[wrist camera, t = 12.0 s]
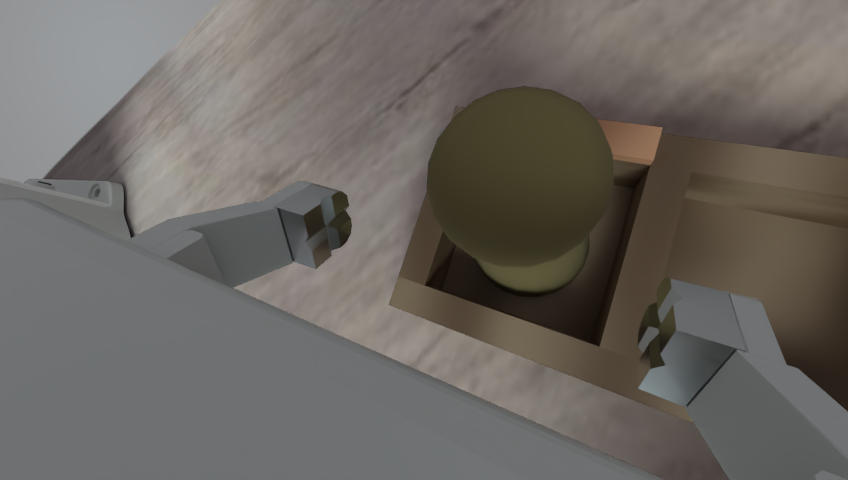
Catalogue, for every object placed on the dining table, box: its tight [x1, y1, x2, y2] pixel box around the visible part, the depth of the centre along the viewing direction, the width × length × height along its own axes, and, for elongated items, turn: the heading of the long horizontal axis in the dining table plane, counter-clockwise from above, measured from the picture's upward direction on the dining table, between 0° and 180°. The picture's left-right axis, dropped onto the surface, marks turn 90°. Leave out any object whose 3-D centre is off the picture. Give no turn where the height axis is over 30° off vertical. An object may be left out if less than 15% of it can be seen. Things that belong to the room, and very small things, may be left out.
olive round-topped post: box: [427, 86, 614, 297], centre depth 14 cm, size 6×6×11 cm
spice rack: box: [389, 106, 848, 423], centre depth 16 cm, size 20×11×4 cm, turn 71°
